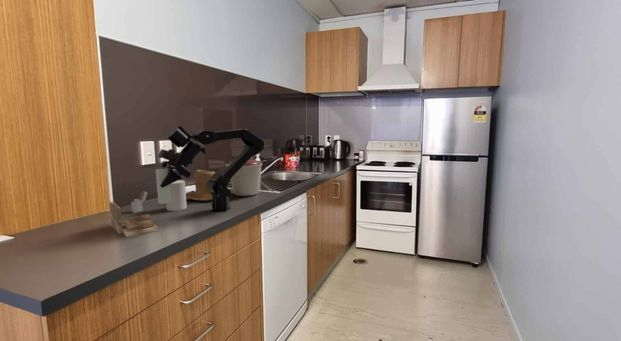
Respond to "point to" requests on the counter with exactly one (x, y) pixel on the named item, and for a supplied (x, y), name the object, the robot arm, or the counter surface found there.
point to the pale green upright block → (164, 192)
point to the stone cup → (201, 186)
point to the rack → (124, 222)
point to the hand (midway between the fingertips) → (159, 186)
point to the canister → (247, 179)
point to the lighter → (138, 203)
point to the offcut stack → (139, 223)
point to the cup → (177, 196)
